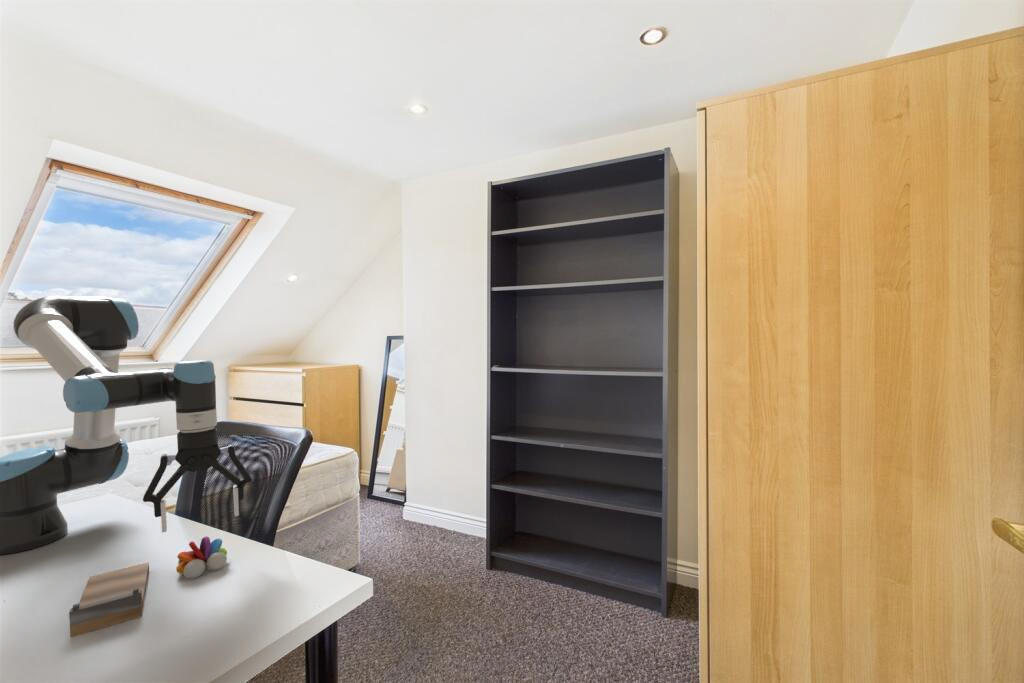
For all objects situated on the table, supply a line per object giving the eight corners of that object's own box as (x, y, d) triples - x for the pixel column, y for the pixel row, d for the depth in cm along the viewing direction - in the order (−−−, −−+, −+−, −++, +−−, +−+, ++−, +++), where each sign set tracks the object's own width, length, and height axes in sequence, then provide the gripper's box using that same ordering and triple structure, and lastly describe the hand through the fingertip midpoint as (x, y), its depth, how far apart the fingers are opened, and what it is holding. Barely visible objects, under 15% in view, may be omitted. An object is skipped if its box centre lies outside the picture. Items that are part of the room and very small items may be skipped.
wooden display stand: (89, 585, 99) (88, 562, 98) (149, 570, 104) (148, 548, 104) (70, 637, 82) (68, 608, 82) (142, 616, 88) (140, 589, 88)
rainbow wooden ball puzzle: (172, 571, 104) (171, 539, 104) (221, 555, 111) (220, 525, 111) (181, 585, 99) (180, 552, 98) (232, 567, 106) (231, 536, 105)
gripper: (123, 441, 94) (129, 543, 94) (262, 423, 108) (265, 513, 109) (127, 434, 100) (132, 531, 101) (258, 419, 114) (261, 503, 115)
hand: (201, 522), depth 105 cm, fingers open, 13 cm apart
